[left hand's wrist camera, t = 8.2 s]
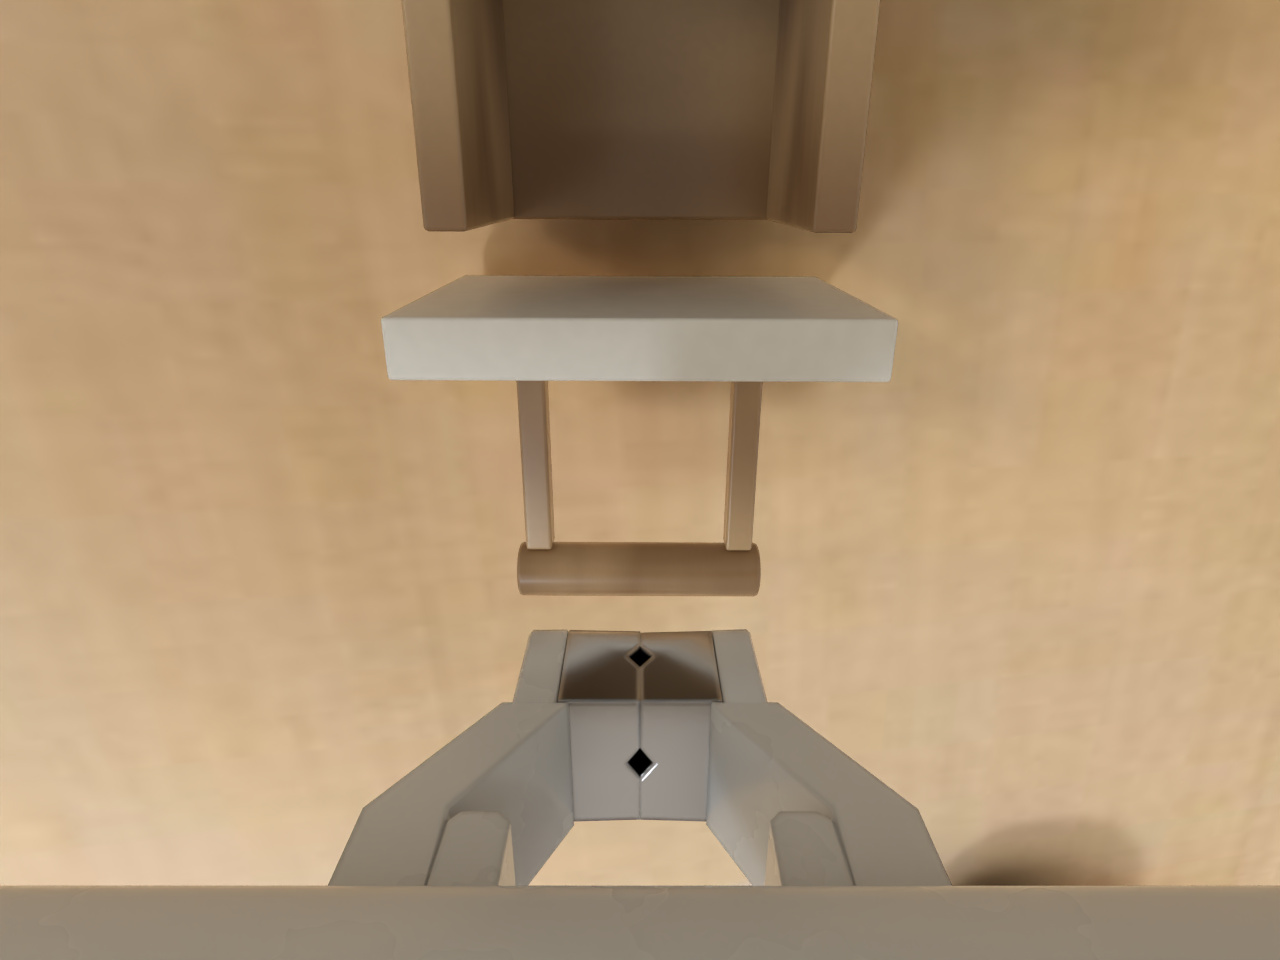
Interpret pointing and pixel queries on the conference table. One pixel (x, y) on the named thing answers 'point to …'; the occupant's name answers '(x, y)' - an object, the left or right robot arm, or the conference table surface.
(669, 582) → the drawer
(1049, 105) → the conference table surface
